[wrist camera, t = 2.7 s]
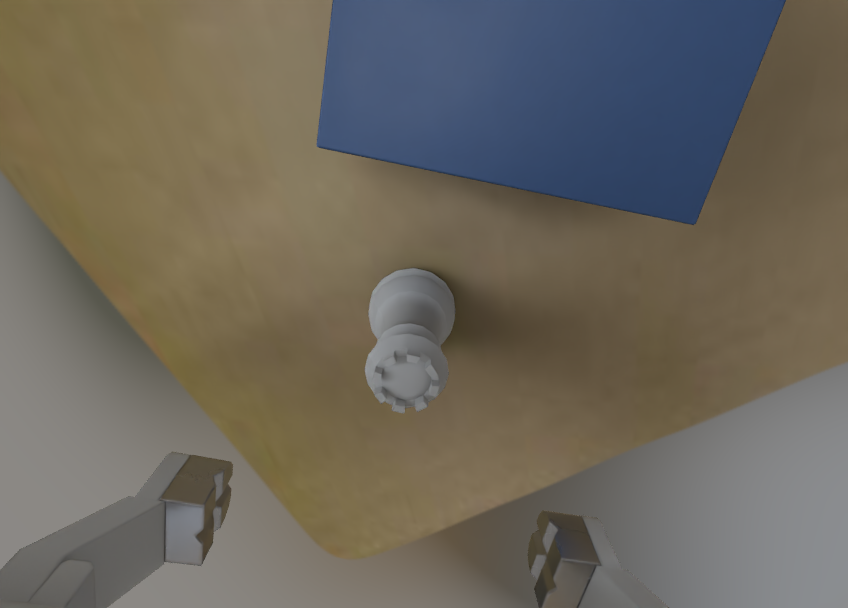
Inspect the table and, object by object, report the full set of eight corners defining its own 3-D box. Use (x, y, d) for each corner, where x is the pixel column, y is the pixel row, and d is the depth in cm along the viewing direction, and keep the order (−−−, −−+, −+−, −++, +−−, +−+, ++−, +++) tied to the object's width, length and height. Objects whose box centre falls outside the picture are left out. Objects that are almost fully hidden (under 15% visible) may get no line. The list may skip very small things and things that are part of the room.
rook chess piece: (356, 324, 26) (327, 408, 18) (391, 250, 24) (374, 310, 17) (432, 356, 27) (433, 450, 19) (469, 287, 25) (487, 359, 18)
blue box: (700, -72, 20) (861, -183, 12) (612, 191, 23) (695, 225, 16) (391, -147, 19) (368, -315, 11) (352, 137, 23) (315, 147, 15)
